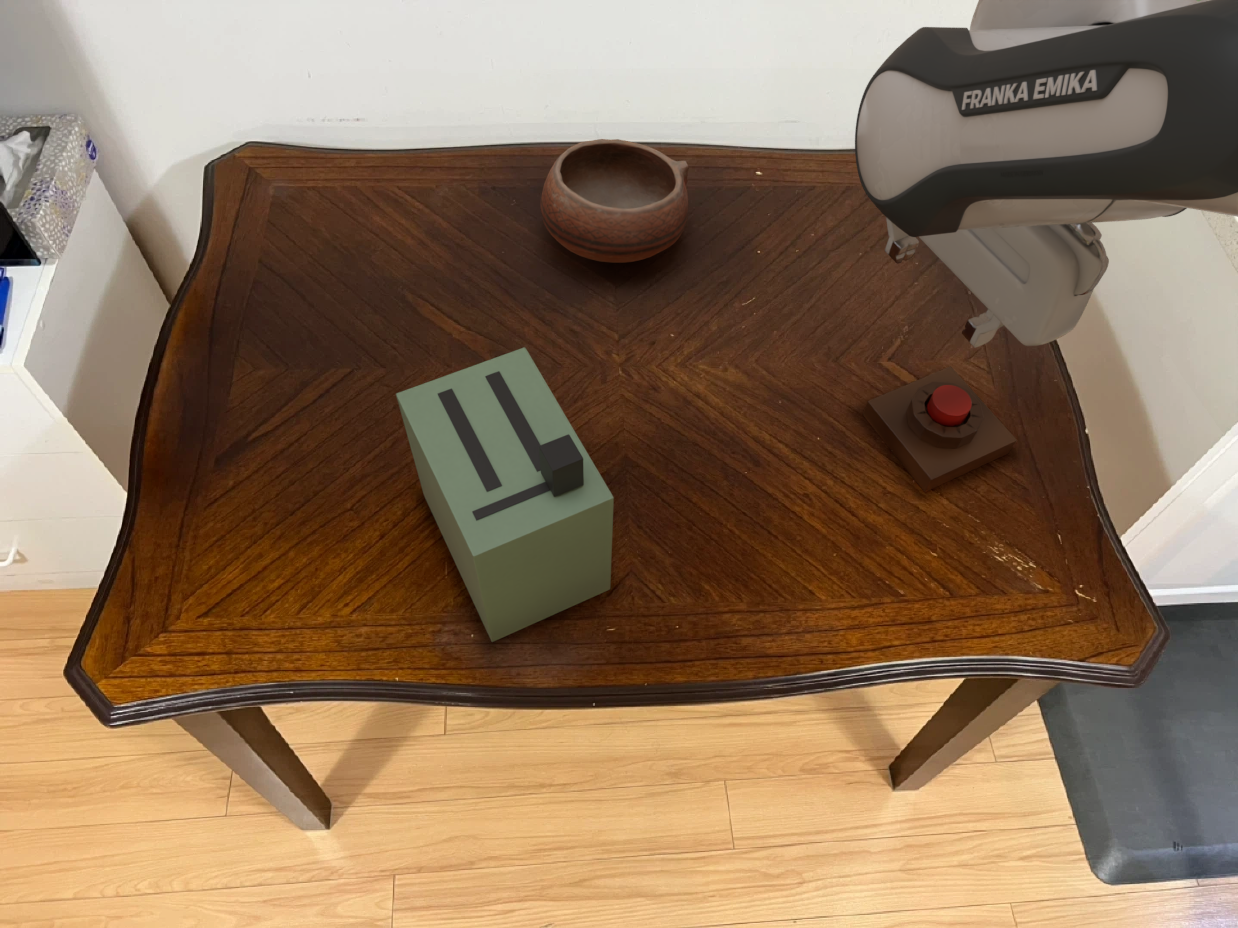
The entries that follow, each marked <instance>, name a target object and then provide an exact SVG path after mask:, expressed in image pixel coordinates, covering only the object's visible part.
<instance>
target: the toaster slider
mask: <svg viewBox="0 0 1238 928" xmlns="http://www.w3.org/2000/svg"><path fill="white" fill-rule="evenodd" d="M539 455H540V468H541V474H542V476H543V478H544V480H545V481H546V483H547V485H548V487H549V489H550V490H551V492H552V494H553V496H554V497H556V496H558V495H561V494H563V493H566V492H568V491H571V490H573V489H575V488H578V487H580V486H583V485H584V475H583V457H582V455H581V454H580V452H579V450H578V449H577V447H576V445H575V443H574V442H573V440H572V438H571V437H570V435H569V434H568V435H565V436H563V437H560V438H558V439H555V440H553V441H550V442H547V443H545V444H542V445H540V446H539Z"/></svg>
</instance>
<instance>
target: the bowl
mask: <svg viewBox="0 0 1238 928" xmlns="http://www.w3.org/2000/svg"><path fill="white" fill-rule="evenodd" d="M689 169H690V166H689V165H688V163H687V161H686V160H679V161H678V160H677V161H676V160H675V159H672V158H670V157H669V156H668V155H666V154H664V153H663V152H662V151H660V150H658V149H655V148H653V147H651V146H648V145H645V144H642V143H638V142H633V141H629V140H624V139H618V138H615V139H614V138H613V139H607V138H599V139H593V140H585V141H580V142H578V143H576V144H574V145H572V146H570V147H568V148H566V150H565V151H563V152H562V153H561V154H560V155H559V156H558V157H557V158H556V160H555V161H554V162H553V165H552V166H551V168H550V170H549V171H548V174H547V176H546V178H545V181H544V184H543V187H542V190H541V192H542V193H541V196H540V212H541V213H540V214H541V218H542V222H543V224H544V226H545V228H546V230H547V231H548V233H549V234H550V235H551V237H553V239H555V241H556V242H558V243H559V244H560V245H561V246H562V247H563V248H565V249H566V250H568V251H569V252H571V253H573V254H575V255H577V256H579V257H582V258H586V259H588V260H592V261H596V262H601V263H602V262H603V263H614V264H616V263H619V264H621V263H623V264H624V263H633V262H637V261H641V260H642V261H643V260H646V259H649V258H651V257H653V256H655V255H658V254H659V253H661V252H664V251H665V250H667V249H669V248H670V247H671V246H672V245H674V244H675V243H676V242H677V241H678V240H679V239H680V237H681V235H682V234H683V233H684V230H685V229H686V225H687V222H688V217H689V205H690V204H689V196H688V195H689V194H688V190H687V184H688V176H689V174H688V173H689Z"/></svg>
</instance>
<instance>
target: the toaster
mask: <svg viewBox="0 0 1238 928" xmlns="http://www.w3.org/2000/svg"><path fill="white" fill-rule="evenodd" d="M395 396H396V397H395V398H396V400H397V403H398V407H399V411H400V414H401V418H402V421H403V425H404V428H405V432H406V436H407V439H408V443H409V446H410V450H411V453H412V457H413V461H414V464H415V465H414V466H415V468H416V472H417V475H418V479H419V482H420V487H421V490H422V493H423V497H424V499H425V501H426V503H427V505H428V507H429V510H430V512H431V515H432V516H433V519H434V520H435V523H436V525H437V527H438V529H439V531H440V533H441V535H442V538H443V540H444V542H445V544H446V546H447V549H448V551H449V552H450V555H451V557H452V559H453V562H454V563H455V566H456V568H457V570H458V573H459V574H460V577H461V578H462V581H463V583H464V585H465V588H466V590H467V592H468V594H469V596H470V598H471V600H472V602H473V605H474V607H475V609H476V612H477V613H478V615H479V618H480V620H481V622H482V624H483V626H484V629H485V630H486V633H487V635H488V637H489V639H490V641H491V642H492V643H493V642H496V641H498V640H500V639H502V638H505V637H507V636H510V635H511V634H514V633H516V632H519V631H520V630H523V629H525V628H527V627H530V626H531V625H532V626H533V625H534V624H536V623H539V622H541V621H543V620H545V619H547V618H549V617H552V616H554V615H556V614H559V613H561V612H563V611H565V610H567V609H570V608H572V607H574V606H576V605H579V604H581V603H583V602H585V601H587V600H590V599H592V598H594V597H596V596H598V595H601V594H603V593H605V592H607V591H610V590H611V585H612V584H611V581H612V559H613V557H612V553H613V531H614V530H613V526H614V503H615V502H614V500H615V497H614V495H613V494H612V492H611V490H610V488H609V487H608V485H607V484H606V482H605V480H604V478H603V477H602V475H601V474H600V471H599V470H598V468H597V467H596V465H595V463H594V461H593V460H592V458H591V456H590V455H589V453H588V451H587V450H586V448H585V446H584V444H583V443H582V441H581V439H580V437H579V436H578V435H577V433H576V431H575V429H574V427H573V426H572V424H571V422H570V421H569V419H568V418H567V416H566V414H565V412H564V411H563V409H562V406H561V405H560V404H559V402H558V400H557V398H556V397H555V395H554V393H553V392H552V390H551V388H550V387H549V386H548V384H547V382H546V380H545V379H544V376H543V375H542V373H541V371H540V370H539V368H538V367H537V364H536V363H535V361H534V359H533V358H532V356H531V355H530V353H529V351H528V349H527V347H525V346H524V347H522V348H519V349H516V350H513V351H510V352H508V353H505V354H502V355H500V356H499V355H498V356H497V357H494V358H490V359H488V360H485V361H482V362H480V363H477V364H474V365H471V366H469V367H466V368H464V369H463V368H462V369H461V370H460V369H459V370H458V371H455V372H452V373H449V374H446V375H444V376H441V377H438V378H435V379H433V380H429V381H427V382H424V383H422V384H419V385H416V386H414V387H410V388H408V389H405V390H402V391H399V392H396V393H395ZM568 434H569V435H570V437H571V438H572V440H573V442H574V443H575V445H576V447H577V449H578V450H579V452H580V454H581V455H582V457H583V475H584V485H583V486H580V487H578V488H575V489H573V490H571V491H568V492H566V493H563V494H561V495H558V496H556V497H554V496H553V494H552V492H551V490H550V489H549V487H548V485H547V483H546V481H545V480H544V478H543V476H542V474H541V468H540V455H539V446H540V445H542V444H545V443H547V442H550V441H553V440H555V439H558V438H560V437H563V436H565V435H568Z"/></svg>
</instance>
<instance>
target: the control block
mask: <svg viewBox="0 0 1238 928" xmlns="http://www.w3.org/2000/svg"><path fill="white" fill-rule="evenodd" d="M943 385H953V386H957V387H959V388H961V389H963V390H964V391H965V392H966V393H967V394H968V395H969V396H970V398H971V401H972V406H971V409H970V411H969V413H968V415H967V416H966V418H965V420H964V421H963V422H962V423H961V424H959V425H957V426H952V427H948V426H943V425H940V424H938V423H936V422H935V421H934V420H933V419H932V418H931V417H930V416H929V414H928V411H927V405H928V403H929V400H930V398H931V396H932V394H933V392H934V391H935V390H936V389H937V388H938V387H940V386H943ZM862 417H864V419H865V420H866V421H867V422H868V423H869V425H870V426H871V427H872V429H873V430H874V431H875V432H876V433H877V435H878V436H879V438H880V439H881V440H882V441H883V442H884V444H885V445H886V446H887V447H888V449H889V450H890V451H891V452H892V454H893V455H894V456H895V457H896V459H897V460H898V461H899V462H900V463H901V465H902V466H903V468H904V469H905V470H906V471H907V472H908V474H909V475H910V476H911V477H912V479H913V480H914V481H915V483H917V485H918V486H919V487H920V489H921V490H922V491H923V492H924V493H926V492H928V491H930V490H933V489H935V488H937V487H939V486H942V485H944V484H946V483H948V482H951V481H953V480H955V479H957V478H959V477H961V476H963V475H965V474H967V473H970V472H971V471H975V470H976V469H978V468H980V467H984V466H985V465H987V464H990V463H991V462H993V461H996V460H998V459H1000V458H1002V457H1004V456H1006V455H1009V454H1010V452H1011V451H1012V449H1013V448H1014V446H1015V445H1016V443H1017V442H1018V440H1017V439H1016V437H1015V436H1014V435H1013V434H1012V433H1011V432H1010V431H1009V429H1008V428H1007V427H1006V426H1005V425H1004V424H1003V423H1002V421H1001V420H1000V419H998V417H997V416H996V415H995V414H994V412H992V410H991V409H990V408H989V407H988V406H987V404H985V402H983V400H981V398H980V397H979V395H977V393H975V391H974V390H973V389H972V388H971V387H970V386H969V384H968V383H966V381H965V380H964V378H962V376H960V374H959V373H958V372H957V371H956V370H955V369H954V368H953V367H952V366H951V365H950V366H947V367H946V368H943V369H939V370H938V371H936V372H933V373H931V374H929V375H926V376H924V377H921V378H919V379H916V380H914V381H912V382H910V383H907V384H905V385H903V386H900V387H897V388H895V389H893V390H890V391H888V392H886V393H883V394H881V395H879V396H877V397H874V398H872V399H869V400H867V402H866V405H865V407H864V410H863V412H862Z"/></svg>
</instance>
